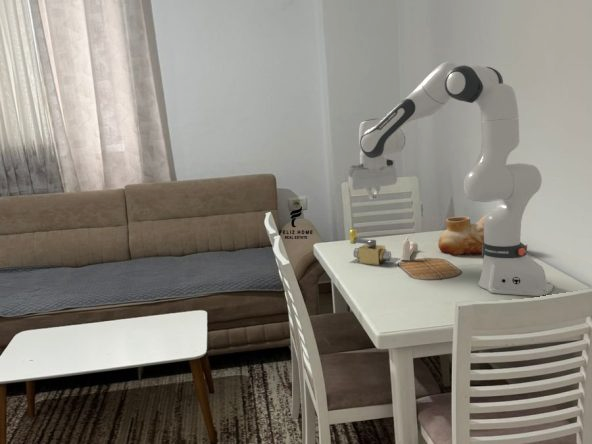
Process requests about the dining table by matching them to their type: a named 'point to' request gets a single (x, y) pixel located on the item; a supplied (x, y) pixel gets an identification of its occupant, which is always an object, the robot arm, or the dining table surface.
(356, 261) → the valve base plate
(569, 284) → the dining table surface
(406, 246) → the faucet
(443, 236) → the ceramic vessel
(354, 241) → the valve lever
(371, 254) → the valve body
